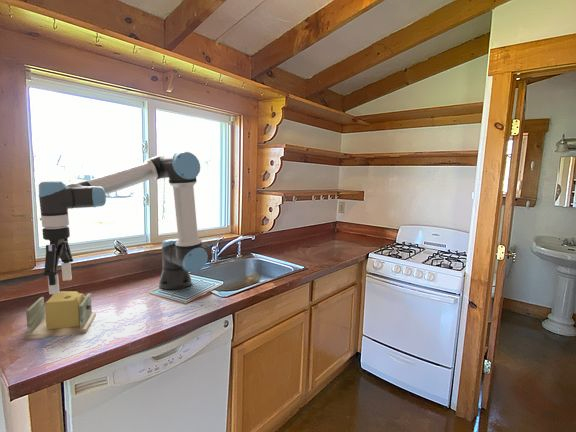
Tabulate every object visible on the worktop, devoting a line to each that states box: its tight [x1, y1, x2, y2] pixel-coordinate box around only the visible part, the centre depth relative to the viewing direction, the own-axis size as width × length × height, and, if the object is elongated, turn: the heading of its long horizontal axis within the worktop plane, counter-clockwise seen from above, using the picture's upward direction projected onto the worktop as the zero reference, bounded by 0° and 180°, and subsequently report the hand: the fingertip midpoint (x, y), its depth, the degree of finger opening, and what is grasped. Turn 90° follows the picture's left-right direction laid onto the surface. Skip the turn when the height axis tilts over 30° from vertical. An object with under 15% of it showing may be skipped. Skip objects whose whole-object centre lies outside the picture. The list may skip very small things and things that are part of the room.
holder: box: [22, 292, 97, 341], centre depth 116 cm, size 18×14×10 cm
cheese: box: [44, 290, 86, 330], centre depth 116 cm, size 10×11×10 cm
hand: (61, 286), depth 115 cm, fingers open, 13 cm apart
